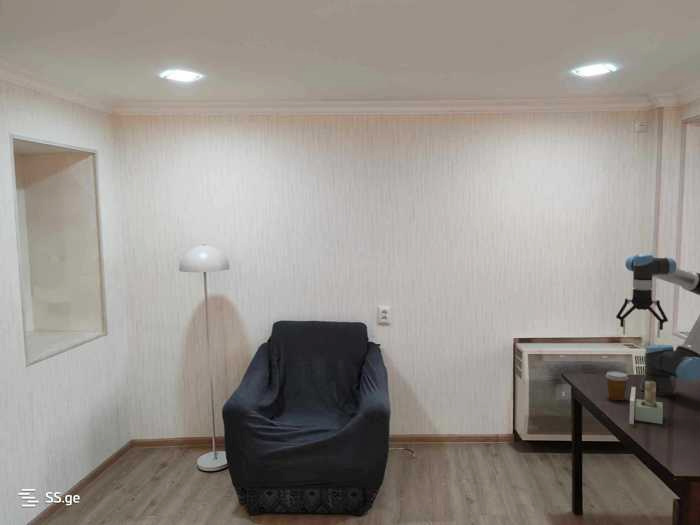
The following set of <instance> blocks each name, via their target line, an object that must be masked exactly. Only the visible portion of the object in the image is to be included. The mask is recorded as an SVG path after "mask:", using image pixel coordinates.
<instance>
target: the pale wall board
mask: <svg viewBox="0 0 700 525" xmlns="http://www.w3.org/2000/svg"><path fill="white" fill-rule="evenodd" d="M636 389H637V388H636V386H631V391H630V399H629V418H628V419H629V422H628V423H629V425H634V424H635V423H634V422H635V405H636V392H637V390H636Z"/></svg>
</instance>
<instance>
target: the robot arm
mask: <svg viewBox="0 0 700 525" xmlns="http://www.w3.org/2000/svg"><path fill="white" fill-rule="evenodd" d="M625 268H626V269H627V271H629V272H632V273H633V274H632V275H633V277H632V288H633V289H632V299H629V298H625V299H624V303H623V304H622V306H621V308H620V310H619V311H618V313H617V314H616V317H615V318H616V319H618V320H620V325H619V326H620V328H622V336H625V335H626V318H627V317H628V316H629V315H630V314H631V313H632V312H634V310H639V311H640V310H642V311H643V310H644V311H646V310H648V311H649V312H650V314H652V315H653V316H654V317H655V318H656V320H657V336H656V337H657V338H660V335H661V334H660V332H661V331H662V330H664V323H667V322H668V321H669V320H668V318H667V315H666V314H665V312H664V309H663V307H662V306H661V303H660V300H659V299H657V300H653V290H652V289H653V278H656V279H657V280H658V279H659V280H661V281H664V282H667V283H670V284H673V285H676V286H679V287H681V288H682V289H683V290H685V291H688V292H690V293H693V294H696V295H698V296H700V273H699V272H695V271H686V270H683V269H679V268H677V262H676V260H675V259H674V258H671V257H654V256H653V255H652V254H648V253H647V254H635V255H630V256H629V257H627V258H626V260H625ZM630 303H631V304H632V305H633V306H631V307H630V308H629V309H628V310H627V311H626V312H625V313H624V314H623V312H624V310H626V309H625V308H626V307H627V306H628V305H629V304H630ZM652 305H654V306H656V307H657V309H658V311H659V312H660V315H661V316H660V315H658V313H657V312H656V311H655V310H654V309H653V307H652ZM622 314H623V315H622ZM661 317H662V318H661ZM644 354H645V355H644V375H643V378H642V381H641V383H640V385H639V388H640V391H641V390H642V391H641V392H643V391H644V392H643V393H645V381H653V382H656V395H655V396H657V397H674V396H676V394H677V388H676V385H675V382H674V378H673V377H675V378H677V379H680V380H683V381H688V382H695V381H698V380H700V314H699V315H698V317H697V318H696V321H695V323H694V324H693V326H692V328H691V329H690V331H689V333H688V335H687V337H686V338H685V340H684V343H682V344H681V345H677V347H676V348H675V349H674V346H673V345H669V344H650V345H647V346H646V347H645V353H644Z"/></svg>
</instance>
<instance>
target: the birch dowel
mask: <svg viewBox="0 0 700 525" xmlns="http://www.w3.org/2000/svg"><path fill="white" fill-rule="evenodd" d="M656 396H657V395H656V382H653V381H645V392H644V398H643V400H644V406H649V407H655V402H656Z"/></svg>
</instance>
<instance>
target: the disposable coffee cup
mask: <svg viewBox="0 0 700 525" xmlns="http://www.w3.org/2000/svg"><path fill="white" fill-rule="evenodd" d="M605 377H606V382H607V390H608V391H607V392H608V398H609V399H610V400H612V401H616V400H622V401H624V400H625V395H626V389H627V383H628V379H629V377H628V374H627V373H625V372H623V371H616V370H615V371H614V370H612V371H611V370H610V371H607V373H606V374H605Z"/></svg>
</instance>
